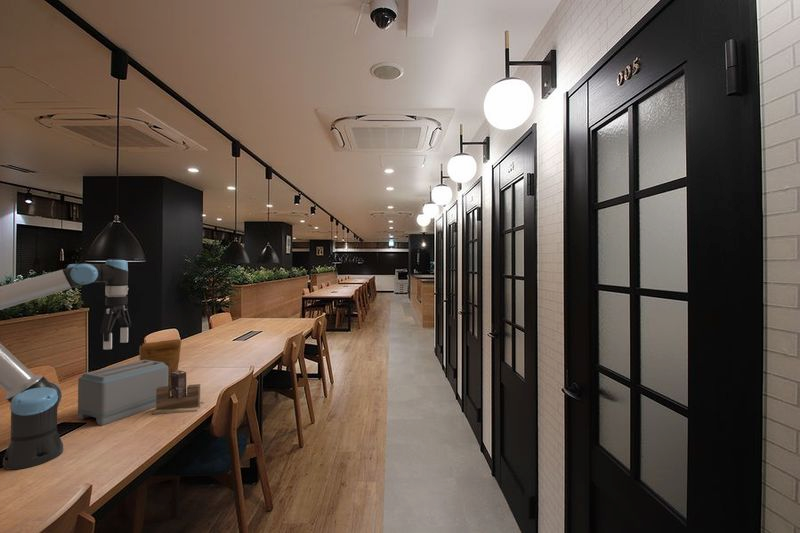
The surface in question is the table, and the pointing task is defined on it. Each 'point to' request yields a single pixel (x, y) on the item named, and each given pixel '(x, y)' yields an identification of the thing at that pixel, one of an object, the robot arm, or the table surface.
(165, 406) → the wooden u-shaped block
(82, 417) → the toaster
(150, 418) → the table surface
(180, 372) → the box
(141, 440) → the table surface
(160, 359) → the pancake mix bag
